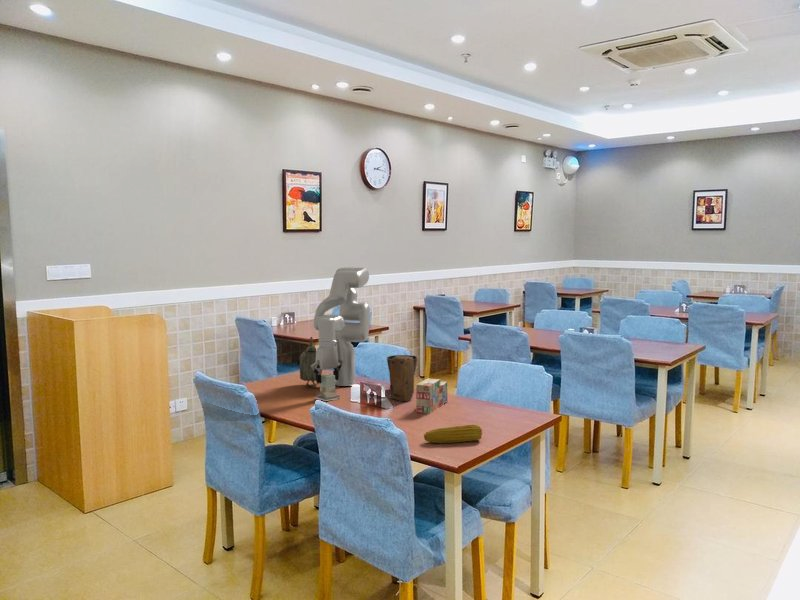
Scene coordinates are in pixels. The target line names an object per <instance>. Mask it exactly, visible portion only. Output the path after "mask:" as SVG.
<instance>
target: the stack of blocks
mask: <svg viewBox="0 0 800 600" xmlns="http://www.w3.org/2000/svg"><path fill="white" fill-rule="evenodd" d="M415 385H416V390H415V391H416V392H415V393H416V407H415V408H416V413H420V414H427V413H428V415H430V414H432V413H433V412H435V411H436V410H438V409H439V408H440V407H442V406H443V405H445V404H446V403H447V402H448V394H449V393H448V381H441V379H438V378H437V379H436V378H425V379H424V380H422V381H420V382H418V383H416V384H415ZM446 401H447V402H446ZM445 402H446V403H445ZM444 403H445V404H444ZM442 404H443V405H442ZM441 405H442V406H441ZM438 407H439V408H438ZM437 408H438V409H437ZM434 410H435V411H434ZM431 412H432V413H431Z"/></svg>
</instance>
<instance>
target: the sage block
mask: <svg viewBox="0 0 800 600" xmlns="http://www.w3.org/2000/svg"><path fill="white" fill-rule="evenodd" d="M335 381H336V380H335V375H333V374H330V373H326V374H322V375H321V383H319V387H320V386H321V387H325V388H329V387H334V386H335ZM335 387H336V386H335Z"/></svg>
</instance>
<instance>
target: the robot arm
mask: <svg viewBox="0 0 800 600" xmlns="http://www.w3.org/2000/svg"><path fill="white" fill-rule="evenodd" d="M369 279H370V273H369V270H368V269H367V268H366V267H339V268H337V269H336V270H335V273H334V275H333V279H332V283H331V286H330V291H329V294H328V296H327V297H326V298H324V299H323V300H322V301H321V302H320V303H319V304H318V305H317V307H316V310H315V314H314V318H313V327H314V330H316V331H318V347H316V361H315V363H314V364H313V365H311V368H312V370H313V372H314V373H315V374H316V381H315V382H316V384H317V383H319V384H320V383H321V375H320V374H321V372H322V373H323V371H326V370H331V369H332V370H333V371H332V372H333V373H332V375H335V385H338V386H337V387H339V386H350V385H352V384H353V383H354V382H355V380H356V350H355V348H354V345H353V344H352V343H353V342H354V343H364V342H366V341H367V340H368V339H369V338H368V337H369V334H370V333H369V332H370V322H371V308H370V305H369V304H368V303H366V302H358V292H357V291H356V289H359V288H360V289H361V288H363V287H364V286H365V285H367V284H368V281H369ZM338 306H339V312H338V315H337V314H334V315H333V314H326V313H327V312H328V311H329V310H331V309H334V308H336V307H338ZM315 367H316V368H317V369H316V368H315Z"/></svg>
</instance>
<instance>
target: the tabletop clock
mask: <svg viewBox="0 0 800 600" xmlns="http://www.w3.org/2000/svg"><path fill="white" fill-rule="evenodd" d="M313 341H314V339H313V337H312V336H310V338H309V346H307V348H306V349H305V351H303V352H302V353H301V354H300V356H299V378H300V380H302V381H304V382H307V383H305V386H306V387H309V386H310V384H309V382H311V383H312V385H313V389H314V388H315V389H314V390H316V389H317V385H316V384H315V382H316V374H315V373H314V372H313V370H312V368H311V365H313V364H314V363H315V361H316V351H317V347H315V346H313V344H314V343H313ZM315 368H316V367H315ZM316 369H317V368H316ZM320 375H323V371H322V372H321V374H320Z"/></svg>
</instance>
